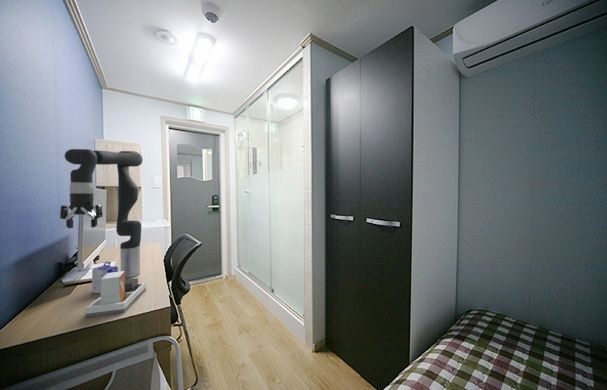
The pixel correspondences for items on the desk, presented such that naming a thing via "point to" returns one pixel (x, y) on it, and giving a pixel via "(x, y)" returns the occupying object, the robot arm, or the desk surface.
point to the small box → (113, 288)
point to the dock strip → (131, 295)
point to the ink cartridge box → (101, 275)
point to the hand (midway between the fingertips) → (82, 227)
